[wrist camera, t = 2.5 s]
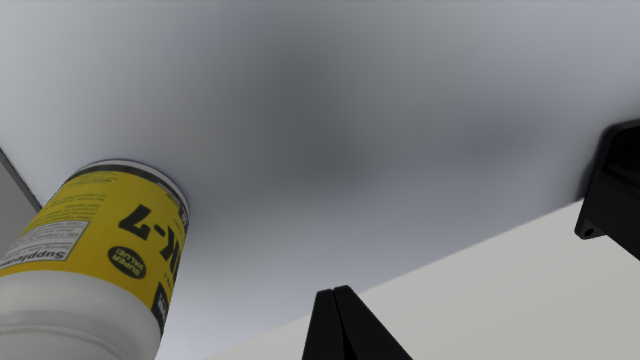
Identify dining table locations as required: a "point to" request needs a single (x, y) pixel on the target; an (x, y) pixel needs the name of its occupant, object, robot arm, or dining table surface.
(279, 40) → the dining table surface
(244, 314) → the dining table surface
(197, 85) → the dining table surface
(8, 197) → the mat
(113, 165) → the supplement bottle
